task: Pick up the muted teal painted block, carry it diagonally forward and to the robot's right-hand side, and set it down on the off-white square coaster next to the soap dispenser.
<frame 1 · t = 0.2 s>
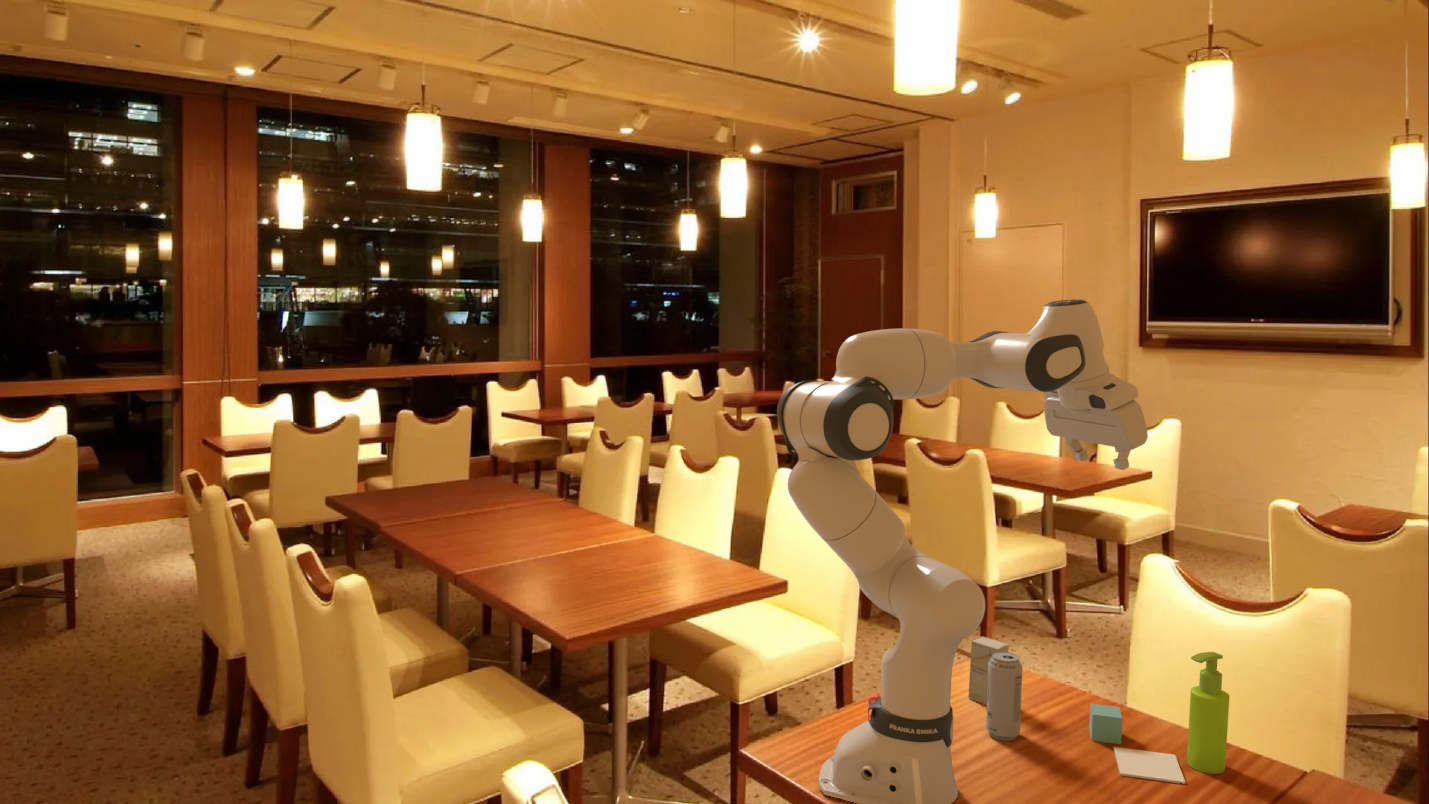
hand: (1101, 463, 165), 52 cm above the table, tool tilted 20°, fingers open, 8 cm apart
soap dispenser: (1203, 767, 163), on the table
block: (1104, 736, 174), on the table
energy drink can: (1002, 735, 175), on the table
skincare box: (987, 701, 190), on the table
coaster: (1148, 765, 163), on the table
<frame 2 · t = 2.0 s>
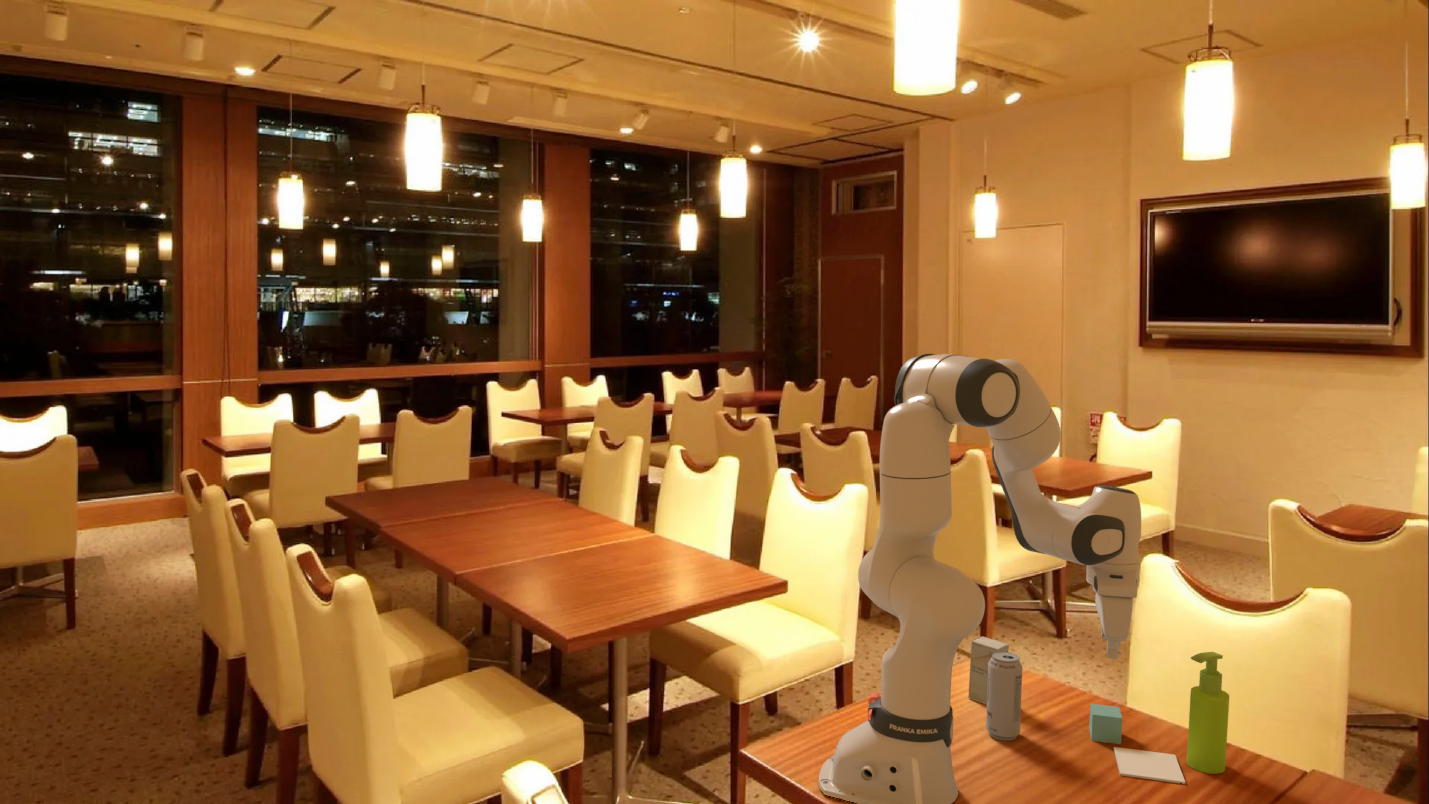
hand: (1109, 647, 173), 17 cm above the table, tool pointing down, fingers open, 8 cm apart
nothing on the table moved.
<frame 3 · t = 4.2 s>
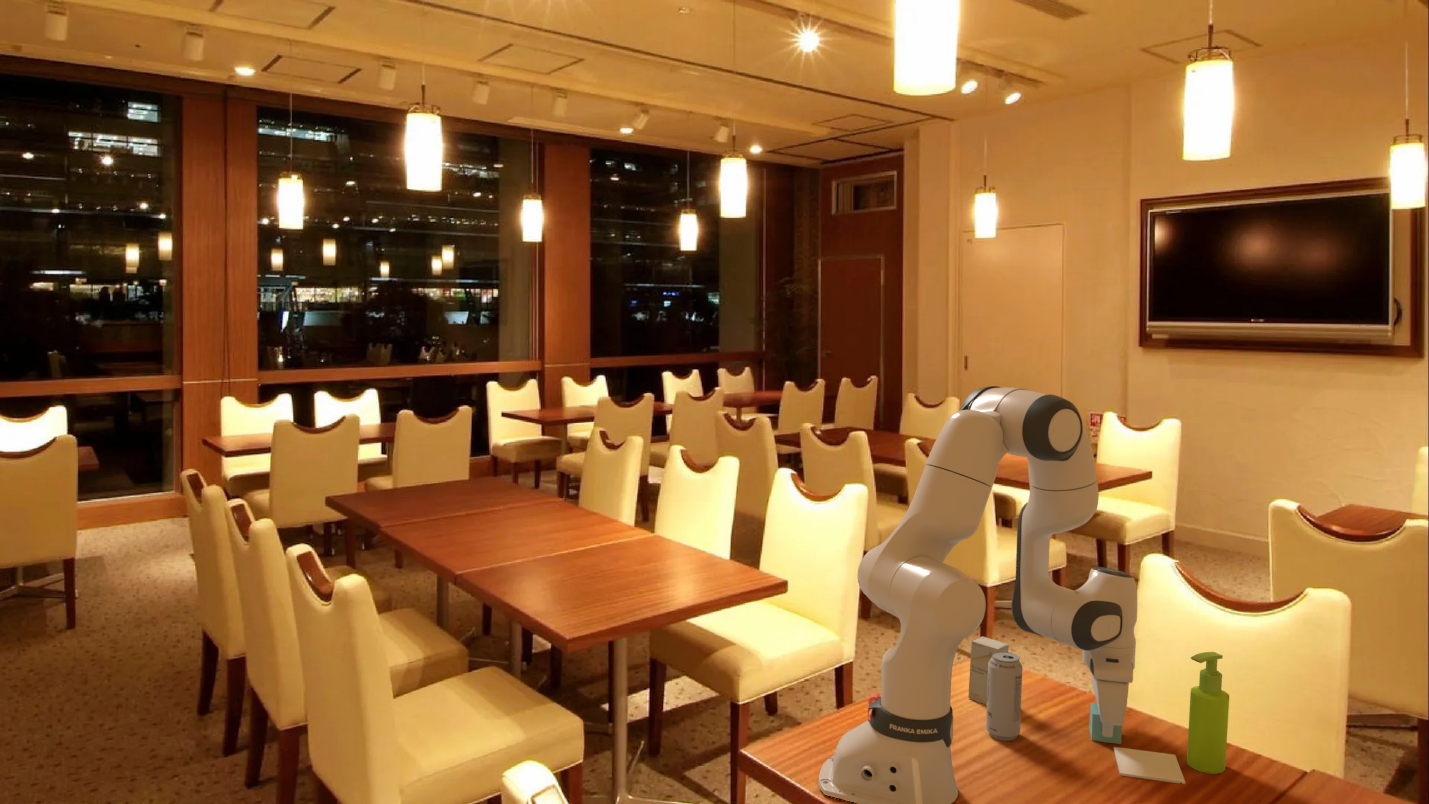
hand: (1105, 727, 174), 2 cm above the table, tool pointing down, fingers closed on block, 5 cm apart
block: (1104, 736, 174), on the table, touching gripper
everything else where it was.
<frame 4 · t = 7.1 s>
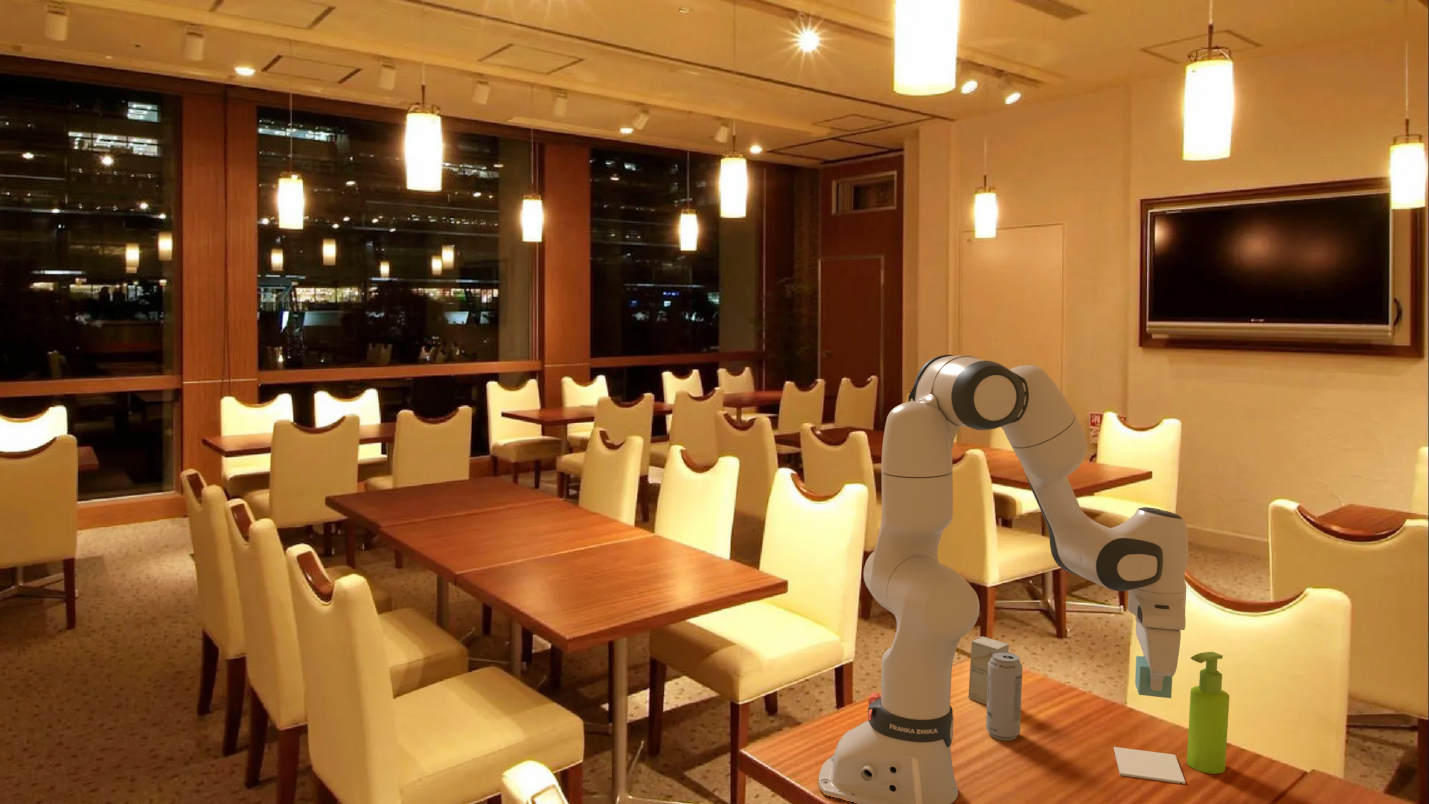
hand: (1152, 681, 162), 15 cm above the table, tool pointing down, fingers closed on block, 5 cm apart
block: (1152, 690, 162), point 13 cm above the table, touching gripper
everything else where it was.
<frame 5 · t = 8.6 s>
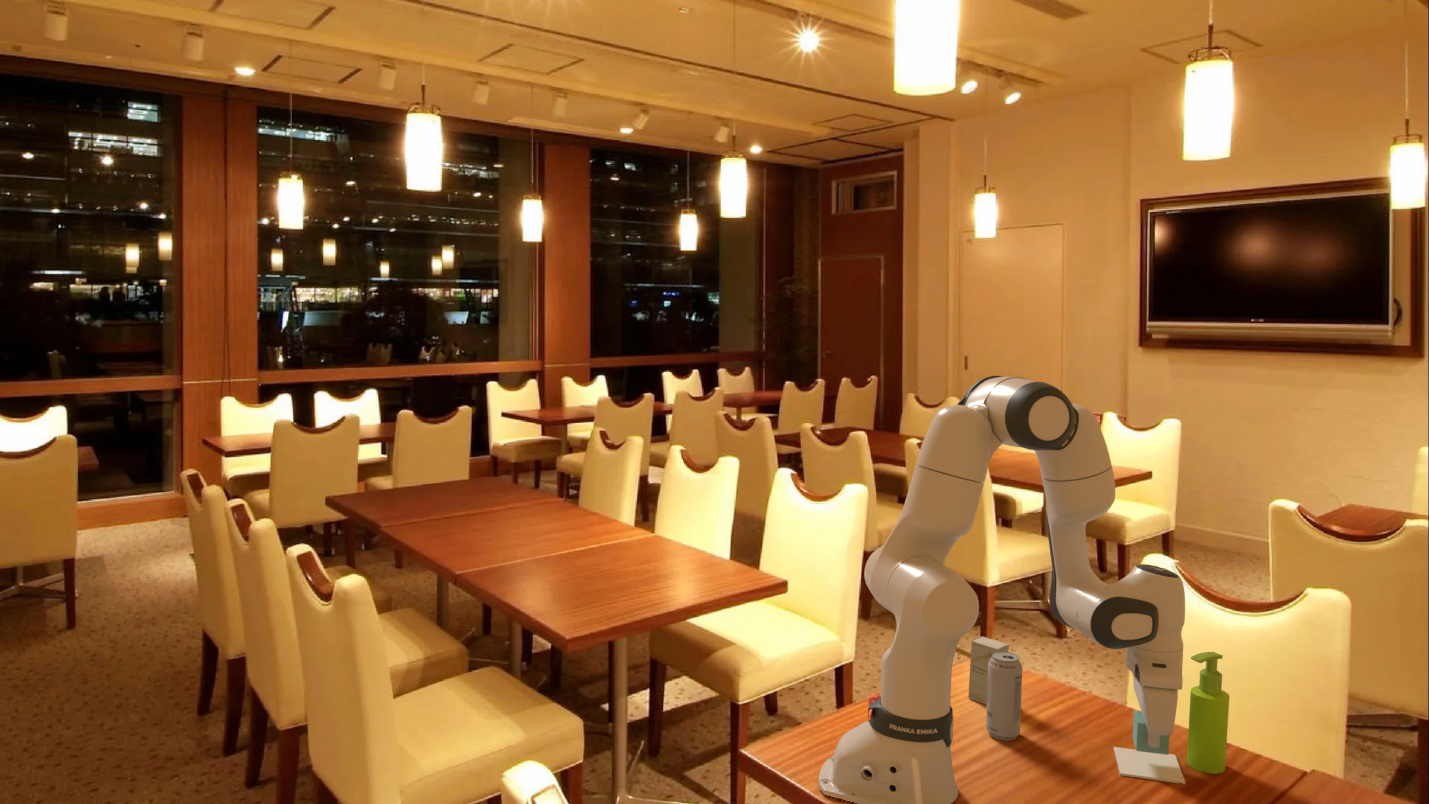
hand: (1150, 737, 163), 5 cm above the table, tool pointing down, fingers closed on block, 5 cm apart
block: (1150, 746, 163), point 3 cm above the table, touching gripper
everything else where it was.
when the fingers open (4 cm above the table, at t = 9.8 s): block drops 2 cm, resting on coaster.
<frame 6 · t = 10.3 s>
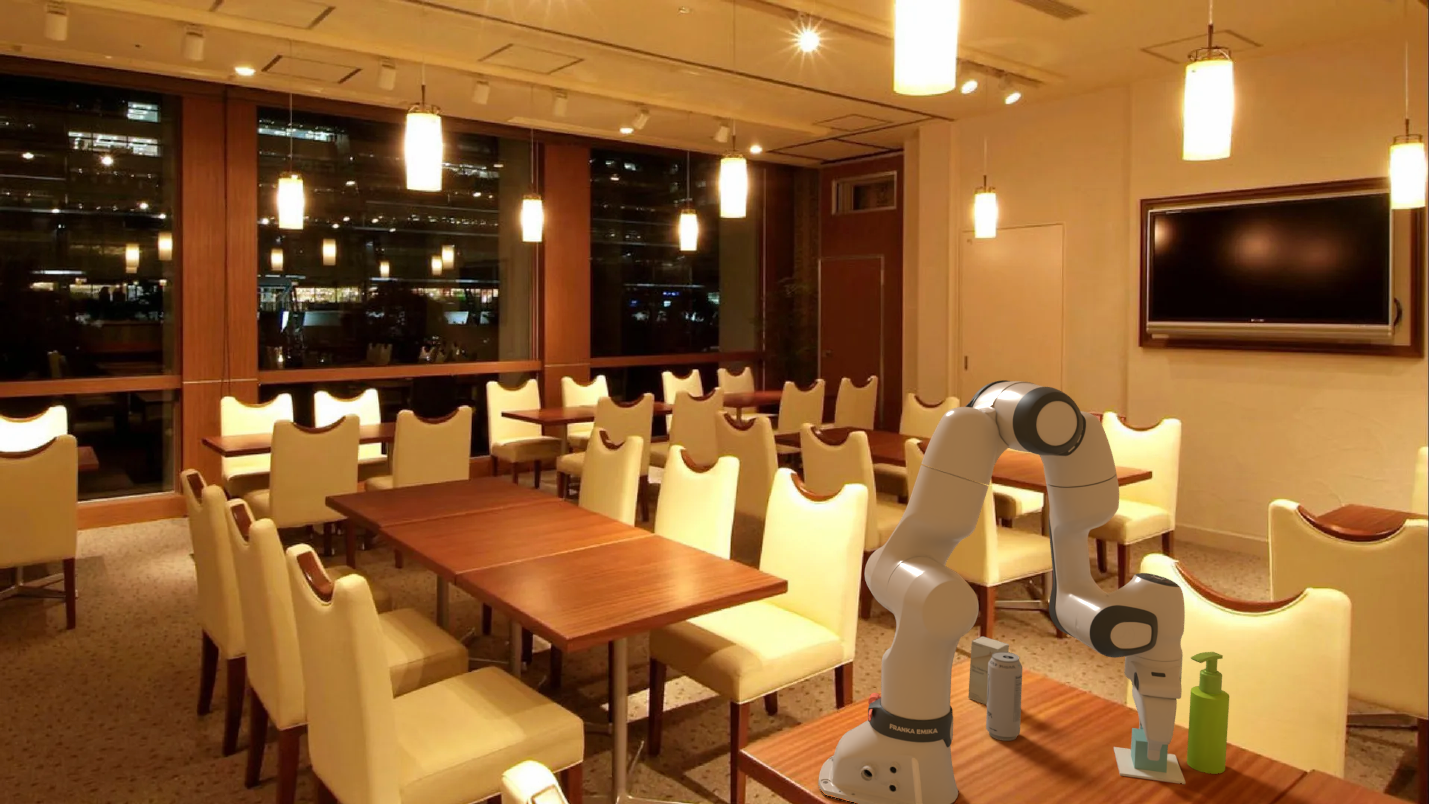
hand: (1148, 746, 163), 4 cm above the table, tool pointing down, fingers open, 8 cm apart
block: (1148, 763, 163), resting on coaster
everything else where it was.
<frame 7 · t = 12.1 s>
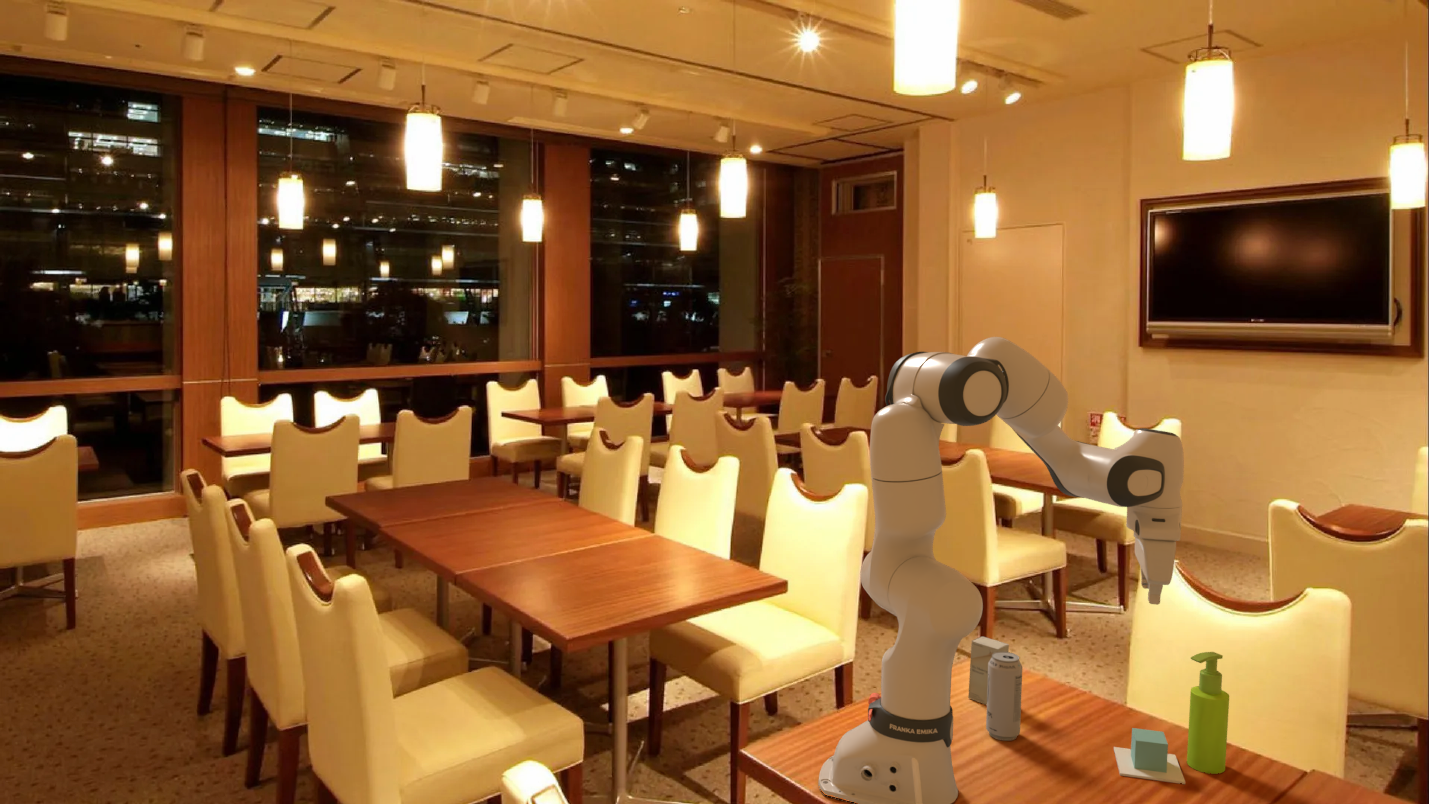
hand: (1150, 595, 169), 27 cm above the table, tool pointing down, fingers open, 8 cm apart
nothing on the table moved.
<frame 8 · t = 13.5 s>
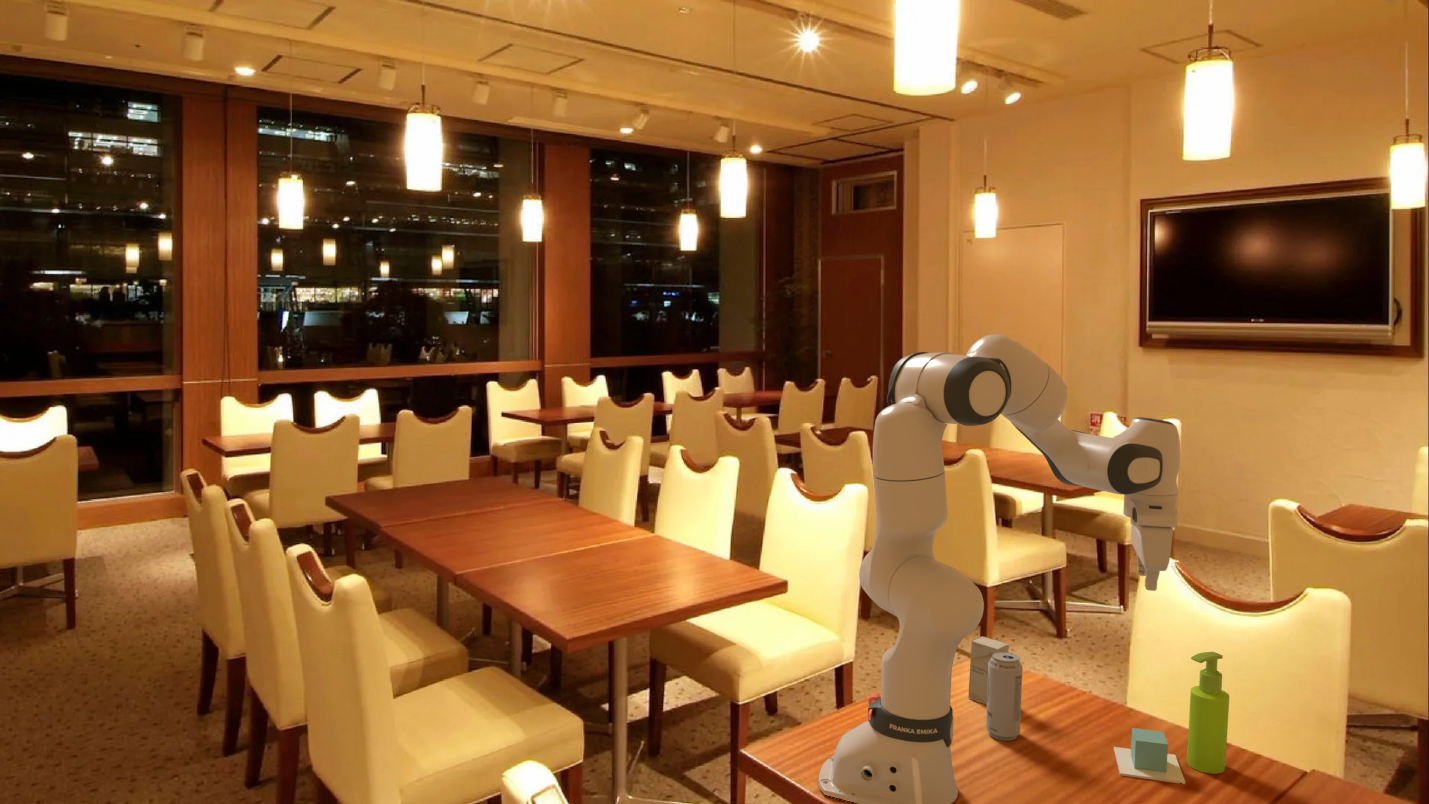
hand: (1146, 582, 171), 29 cm above the table, tool pointing down, fingers open, 8 cm apart
nothing on the table moved.
at the end: block inside the target area on the coaster (0.0 cm from its centre), point 0.4 cm above the coaster's base; block tilted 0°; the gripper is holding nothing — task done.
